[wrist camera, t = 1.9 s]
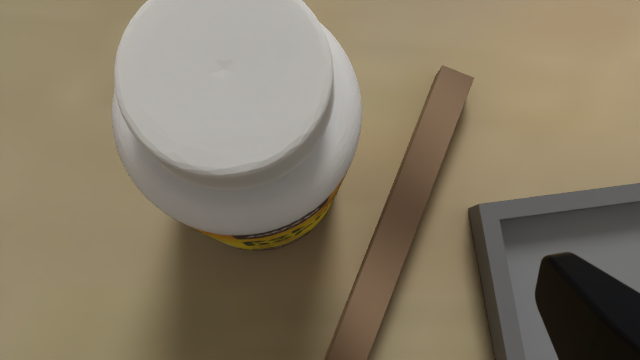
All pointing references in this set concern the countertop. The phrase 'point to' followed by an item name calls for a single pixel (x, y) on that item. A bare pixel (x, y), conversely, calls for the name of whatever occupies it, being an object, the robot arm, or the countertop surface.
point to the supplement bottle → (235, 116)
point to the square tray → (544, 239)
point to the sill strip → (400, 218)
